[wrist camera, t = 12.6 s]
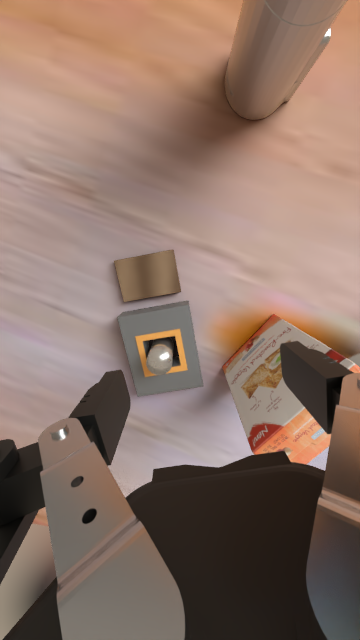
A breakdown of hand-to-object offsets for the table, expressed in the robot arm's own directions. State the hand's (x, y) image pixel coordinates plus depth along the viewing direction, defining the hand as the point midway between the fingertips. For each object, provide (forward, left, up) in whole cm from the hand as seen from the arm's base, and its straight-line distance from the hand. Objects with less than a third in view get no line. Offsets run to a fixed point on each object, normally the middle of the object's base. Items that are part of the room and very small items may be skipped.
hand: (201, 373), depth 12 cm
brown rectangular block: (+6, -4, -30) cm, 31 cm away
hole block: (+6, +9, -30) cm, 32 cm away
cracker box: (-11, +13, -30) cm, 35 cm away
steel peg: (+6, +9, -30) cm, 32 cm away
